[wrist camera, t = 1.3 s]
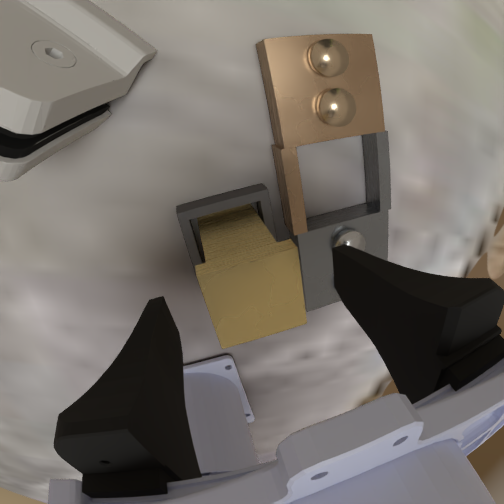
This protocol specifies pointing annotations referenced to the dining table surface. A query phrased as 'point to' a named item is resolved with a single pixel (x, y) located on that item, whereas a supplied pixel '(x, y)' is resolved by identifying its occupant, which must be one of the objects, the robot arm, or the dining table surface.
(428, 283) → the robot arm
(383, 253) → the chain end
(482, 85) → the dining table surface
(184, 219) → the gray square frame
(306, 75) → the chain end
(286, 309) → the pin
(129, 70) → the off-white striped device
